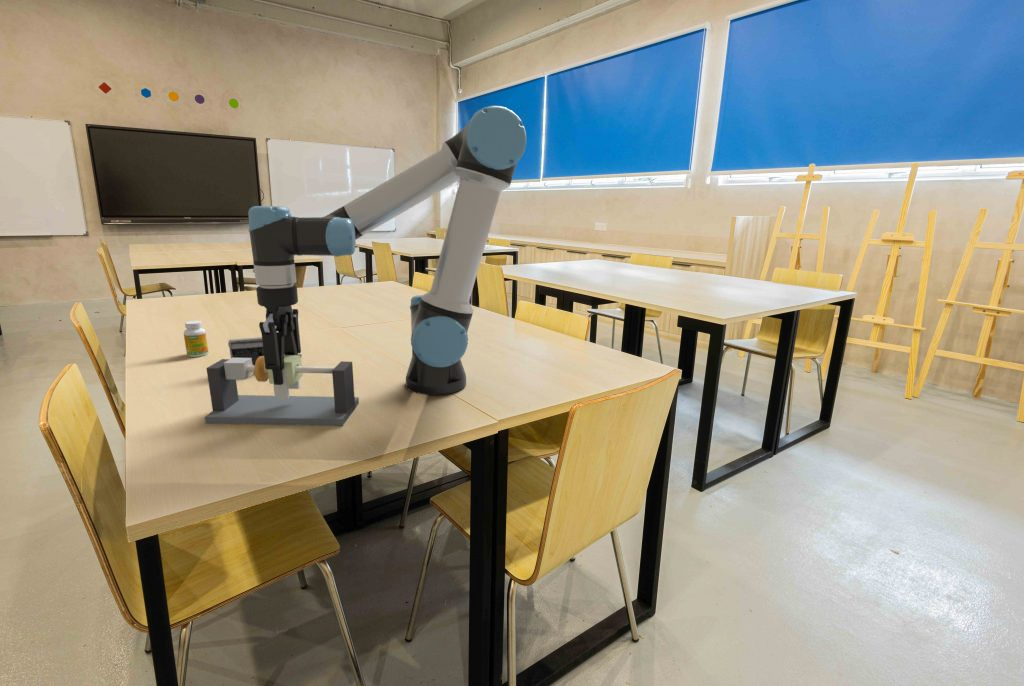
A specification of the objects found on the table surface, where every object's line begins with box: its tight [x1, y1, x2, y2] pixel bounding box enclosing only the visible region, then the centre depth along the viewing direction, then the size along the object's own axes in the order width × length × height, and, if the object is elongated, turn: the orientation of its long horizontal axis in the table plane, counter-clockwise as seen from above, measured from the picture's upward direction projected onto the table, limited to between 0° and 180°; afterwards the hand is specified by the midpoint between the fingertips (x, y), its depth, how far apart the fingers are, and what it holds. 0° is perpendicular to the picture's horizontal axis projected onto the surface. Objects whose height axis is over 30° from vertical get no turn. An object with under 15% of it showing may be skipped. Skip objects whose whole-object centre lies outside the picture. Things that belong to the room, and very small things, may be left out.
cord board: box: [204, 356, 360, 427], centre depth 109 cm, size 28×12×13 cm, turn 91°
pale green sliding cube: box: [268, 354, 303, 385], centre depth 108 cm, size 5×5×5 cm
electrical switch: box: [227, 336, 264, 365], centre depth 134 cm, size 9×5×9 cm, turn 113°
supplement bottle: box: [183, 320, 209, 358], centre depth 147 cm, size 5×5×10 cm
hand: (287, 392), depth 109 cm, fingers closed on pale green sliding cube, 5 cm apart
